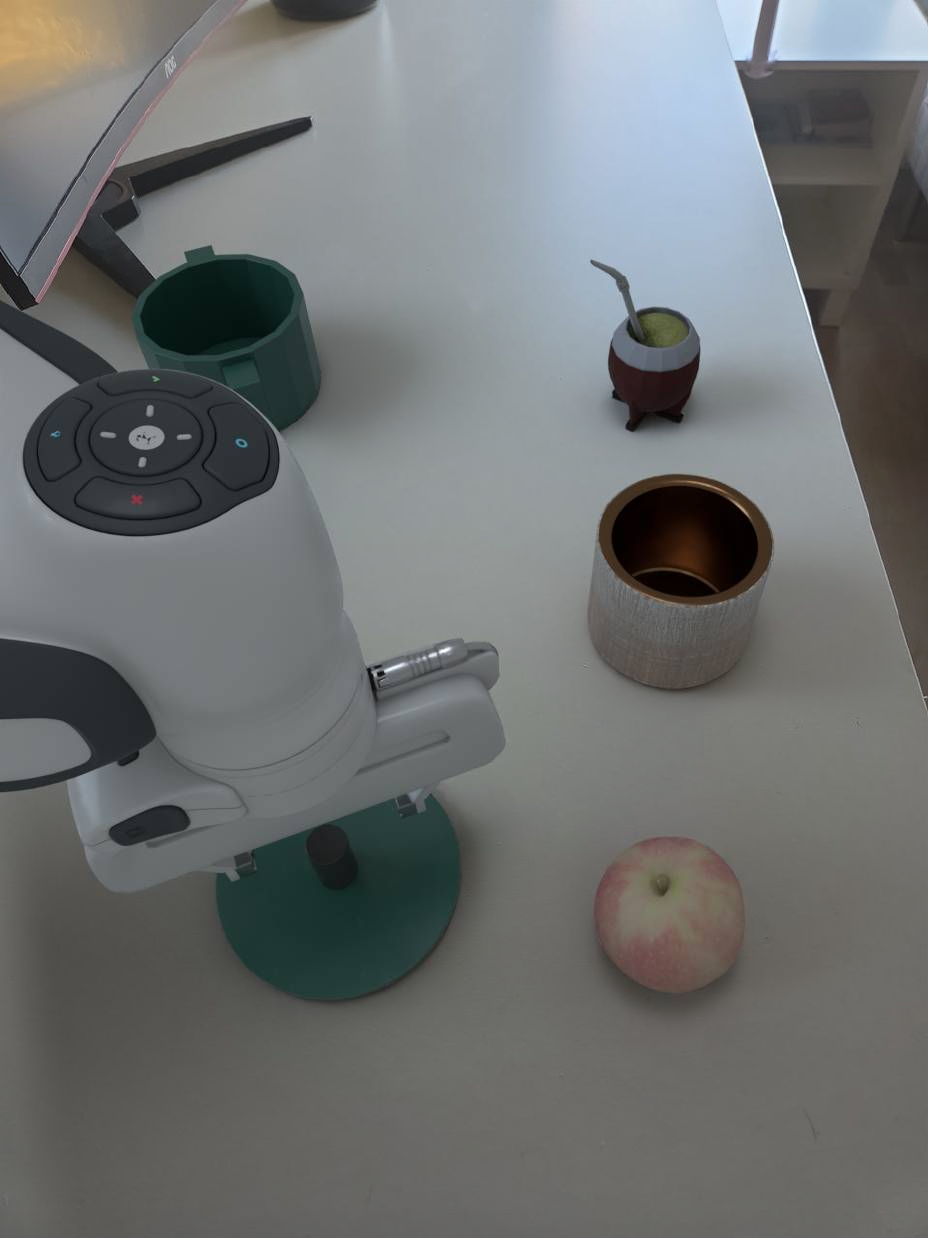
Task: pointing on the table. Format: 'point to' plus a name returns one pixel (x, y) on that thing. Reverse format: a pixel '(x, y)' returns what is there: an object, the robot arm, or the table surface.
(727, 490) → the planter
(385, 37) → the table surface
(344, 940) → the lid
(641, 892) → the apple
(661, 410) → the mate gourd
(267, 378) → the pot
